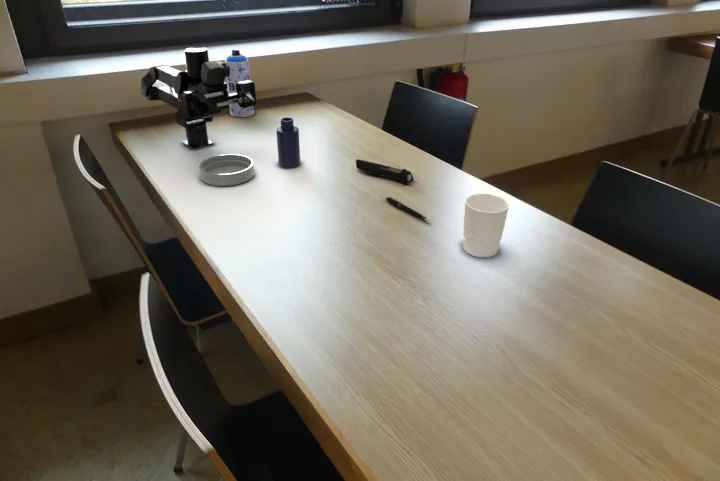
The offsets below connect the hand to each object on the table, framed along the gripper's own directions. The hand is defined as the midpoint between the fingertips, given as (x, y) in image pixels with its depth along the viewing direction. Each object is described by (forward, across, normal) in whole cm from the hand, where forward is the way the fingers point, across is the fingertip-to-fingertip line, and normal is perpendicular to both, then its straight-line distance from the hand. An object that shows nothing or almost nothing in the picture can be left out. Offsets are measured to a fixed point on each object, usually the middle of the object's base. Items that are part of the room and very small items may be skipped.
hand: (237, 107), depth 126 cm
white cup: (+62, +16, +17) cm, 66 cm away
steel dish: (0, -4, +16) cm, 17 cm away
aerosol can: (-42, +24, +17) cm, 51 cm away
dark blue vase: (+3, +12, +16) cm, 20 cm away
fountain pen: (+42, +16, +17) cm, 48 cm away
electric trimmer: (+25, +25, +17) cm, 39 cm away
